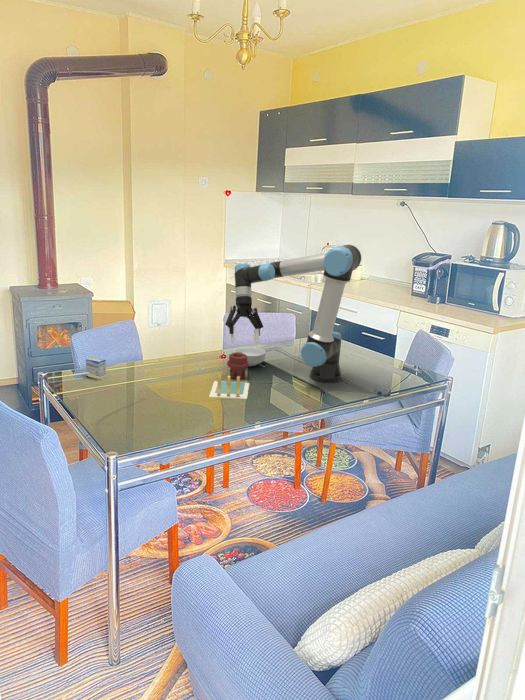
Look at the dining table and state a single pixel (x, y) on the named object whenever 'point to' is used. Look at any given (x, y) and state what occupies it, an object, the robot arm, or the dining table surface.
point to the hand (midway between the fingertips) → (245, 342)
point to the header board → (243, 390)
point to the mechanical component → (237, 365)
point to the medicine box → (96, 366)
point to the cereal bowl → (252, 354)
